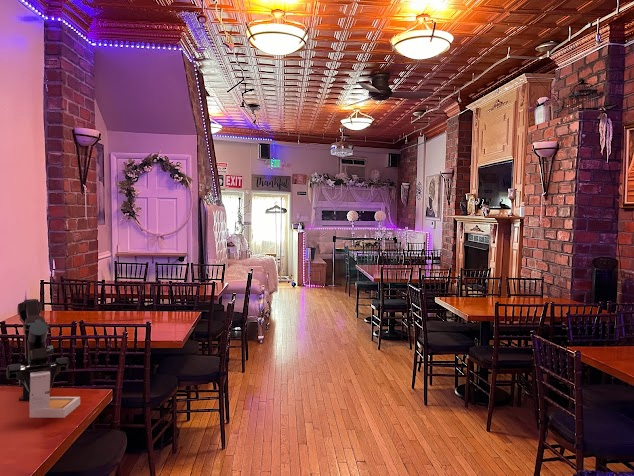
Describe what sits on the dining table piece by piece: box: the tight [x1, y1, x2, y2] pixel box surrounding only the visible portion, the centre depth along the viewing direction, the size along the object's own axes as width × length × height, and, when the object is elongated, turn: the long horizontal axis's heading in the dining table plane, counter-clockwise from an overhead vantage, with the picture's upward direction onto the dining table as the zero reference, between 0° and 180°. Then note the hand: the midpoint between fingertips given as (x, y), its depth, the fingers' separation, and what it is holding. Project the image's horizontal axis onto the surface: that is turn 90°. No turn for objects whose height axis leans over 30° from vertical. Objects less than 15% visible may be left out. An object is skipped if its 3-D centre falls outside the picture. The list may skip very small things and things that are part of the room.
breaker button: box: [49, 400, 71, 408], centre depth 176 cm, size 8×8×1 cm
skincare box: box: [28, 370, 51, 412], centre depth 163 cm, size 6×4×12 cm
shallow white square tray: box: [29, 396, 81, 419], centre depth 176 cm, size 12×12×3 cm
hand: (40, 389), depth 162 cm, fingers closed on skincare box, 6 cm apart
